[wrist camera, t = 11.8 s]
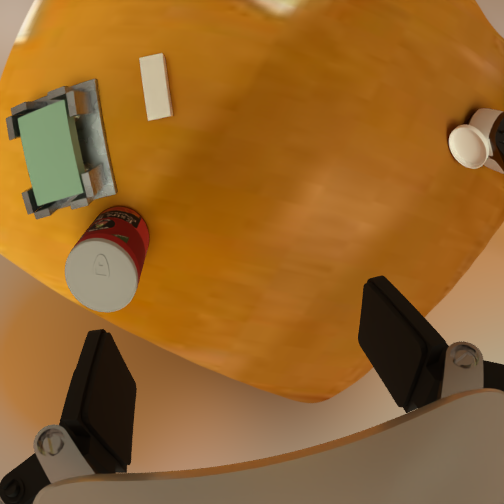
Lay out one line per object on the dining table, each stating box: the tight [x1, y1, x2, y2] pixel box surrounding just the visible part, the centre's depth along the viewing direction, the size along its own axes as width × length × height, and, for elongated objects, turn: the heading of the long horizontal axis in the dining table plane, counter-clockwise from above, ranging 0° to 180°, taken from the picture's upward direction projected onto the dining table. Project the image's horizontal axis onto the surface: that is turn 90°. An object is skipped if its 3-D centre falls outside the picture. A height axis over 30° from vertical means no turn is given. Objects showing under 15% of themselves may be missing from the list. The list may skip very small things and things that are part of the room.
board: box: [18, 99, 85, 206], centre depth 27 cm, size 10×6×2 cm, turn 6°
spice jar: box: [449, 108, 504, 174], centre depth 34 cm, size 12×11×12 cm
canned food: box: [65, 207, 149, 312], centre depth 32 cm, size 8×8×11 cm
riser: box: [139, 53, 173, 121], centre depth 29 cm, size 7×2×4 cm, turn 6°
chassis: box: [6, 79, 118, 219], centre depth 28 cm, size 14×10×6 cm
